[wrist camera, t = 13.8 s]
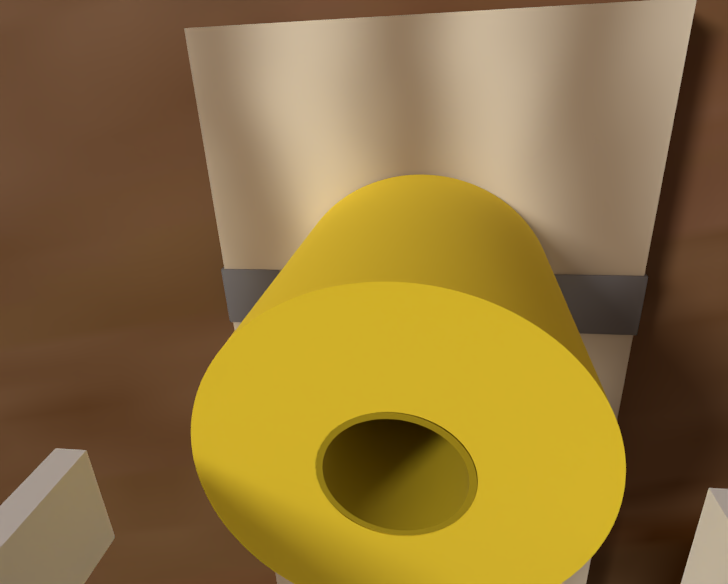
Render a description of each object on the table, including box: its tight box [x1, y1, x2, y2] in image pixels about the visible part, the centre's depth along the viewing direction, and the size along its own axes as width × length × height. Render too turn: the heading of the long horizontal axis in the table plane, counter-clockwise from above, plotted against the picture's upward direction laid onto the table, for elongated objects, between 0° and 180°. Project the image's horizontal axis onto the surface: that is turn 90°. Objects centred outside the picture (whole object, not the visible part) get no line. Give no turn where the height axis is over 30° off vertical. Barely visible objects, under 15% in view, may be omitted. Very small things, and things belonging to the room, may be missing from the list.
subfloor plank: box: [184, 0, 696, 584], centre depth 24 cm, size 16×34×2 cm, turn 3°
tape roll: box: [191, 175, 626, 584], centre depth 17 cm, size 10×10×9 cm
